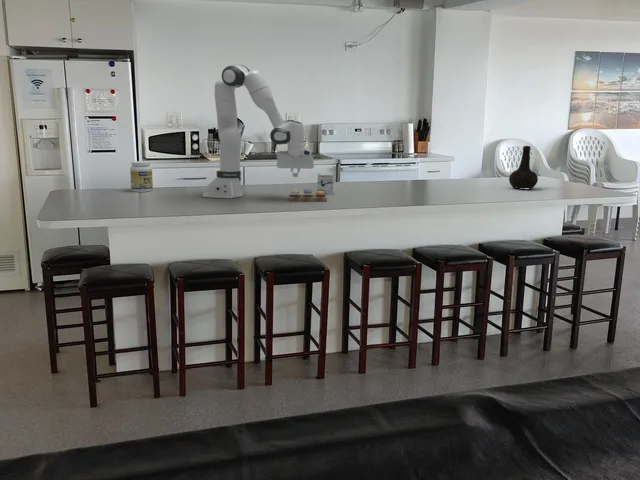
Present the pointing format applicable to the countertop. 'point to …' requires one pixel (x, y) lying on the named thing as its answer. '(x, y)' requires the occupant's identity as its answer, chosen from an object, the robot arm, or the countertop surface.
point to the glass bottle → (524, 172)
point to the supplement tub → (141, 176)
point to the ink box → (325, 183)
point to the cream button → (295, 191)
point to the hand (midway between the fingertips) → (295, 176)
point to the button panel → (307, 198)
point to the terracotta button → (320, 193)
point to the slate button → (307, 191)
